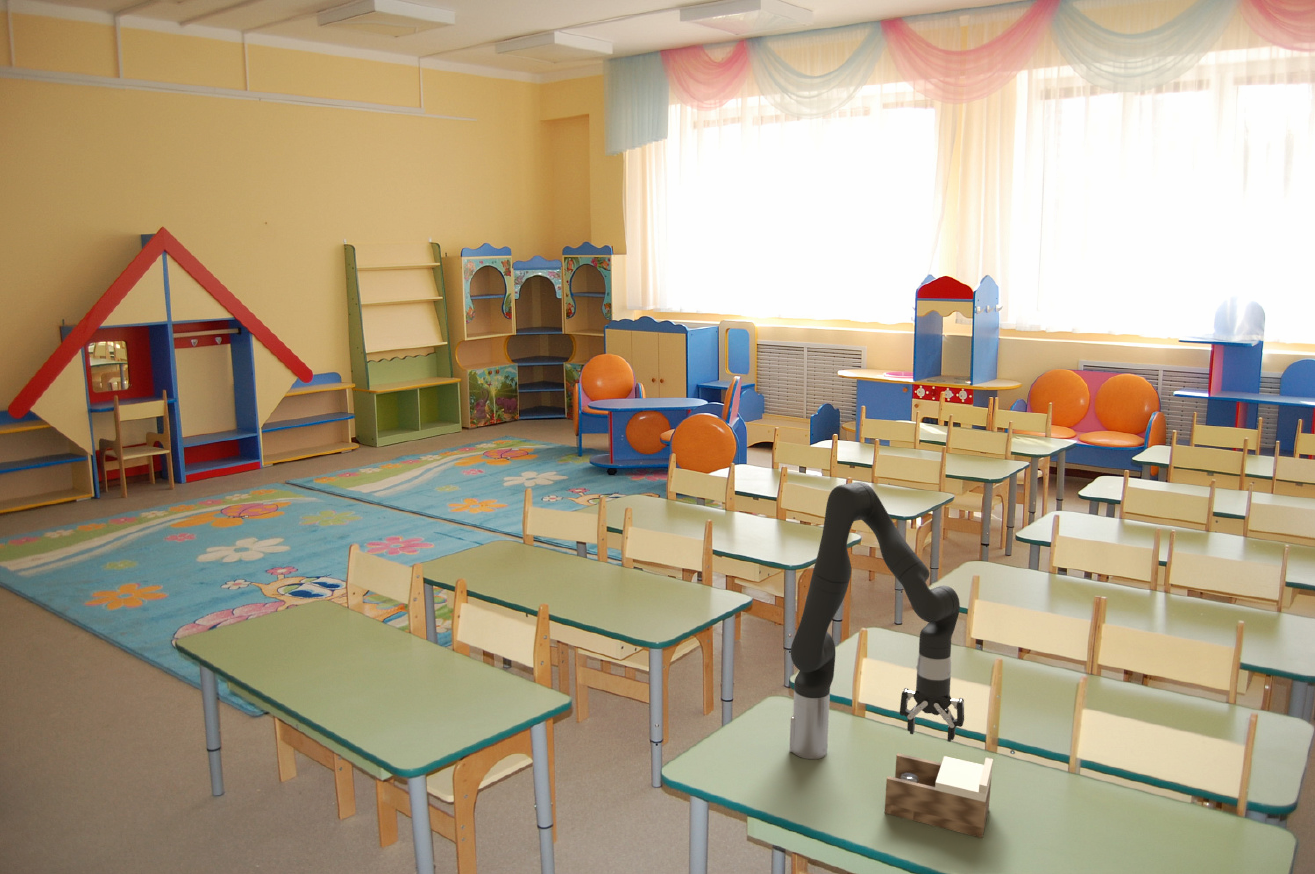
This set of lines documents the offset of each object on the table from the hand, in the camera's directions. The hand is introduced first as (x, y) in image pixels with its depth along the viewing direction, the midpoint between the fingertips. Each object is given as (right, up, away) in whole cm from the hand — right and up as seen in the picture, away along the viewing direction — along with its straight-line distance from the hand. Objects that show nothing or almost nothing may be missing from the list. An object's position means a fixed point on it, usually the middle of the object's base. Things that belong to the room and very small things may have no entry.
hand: (930, 736), depth 223 cm
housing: (+2, -19, +3) cm, 19 cm away
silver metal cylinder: (-4, -18, +6) cm, 19 cm away
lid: (+7, -10, -1) cm, 13 cm away
